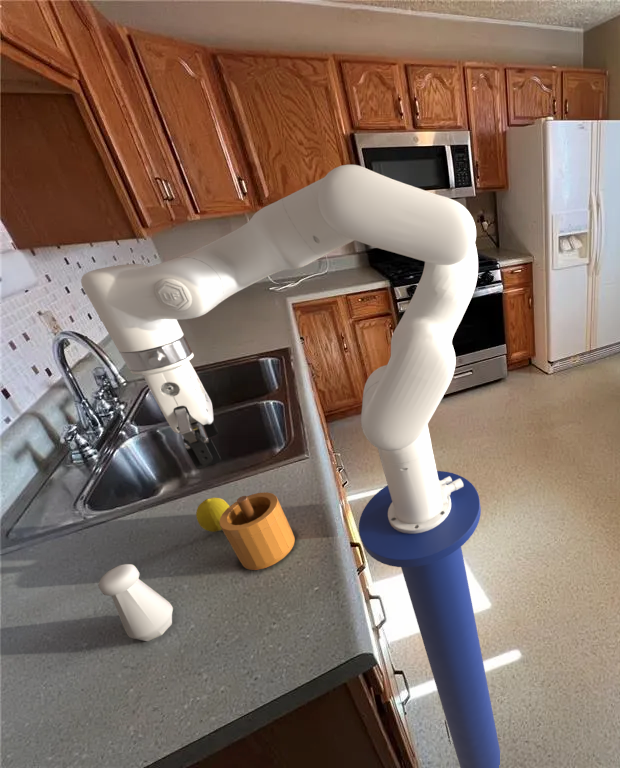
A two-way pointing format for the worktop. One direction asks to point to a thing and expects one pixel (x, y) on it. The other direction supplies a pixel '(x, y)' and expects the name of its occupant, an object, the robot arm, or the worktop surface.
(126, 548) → the worktop surface
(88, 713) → the worktop surface
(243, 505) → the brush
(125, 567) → the salt shaker
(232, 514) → the jar
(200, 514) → the lemon
